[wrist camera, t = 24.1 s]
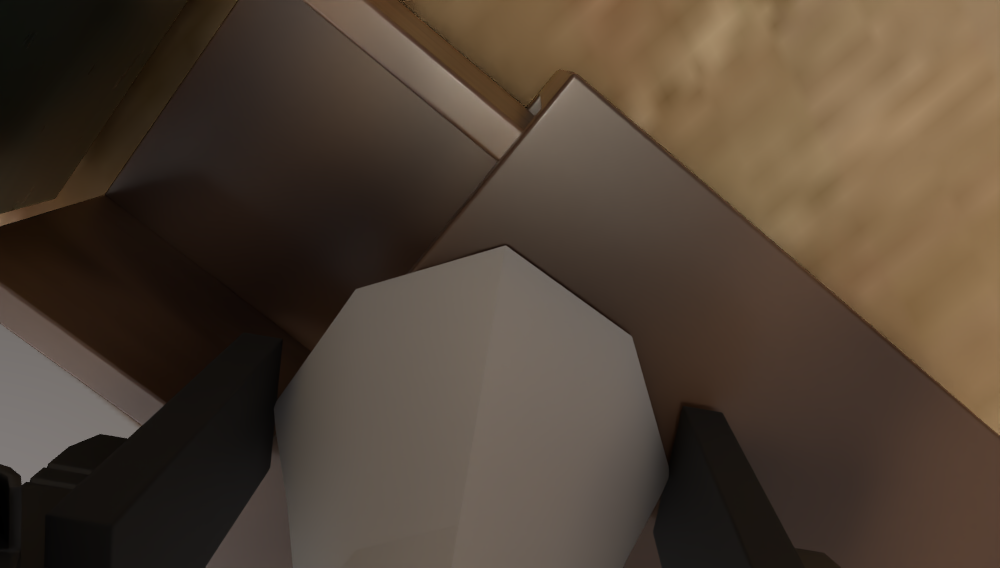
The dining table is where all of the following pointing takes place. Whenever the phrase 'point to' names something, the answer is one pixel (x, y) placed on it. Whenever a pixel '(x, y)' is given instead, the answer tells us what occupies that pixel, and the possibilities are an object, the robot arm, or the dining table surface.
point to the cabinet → (718, 349)
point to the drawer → (227, 179)
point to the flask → (469, 427)
